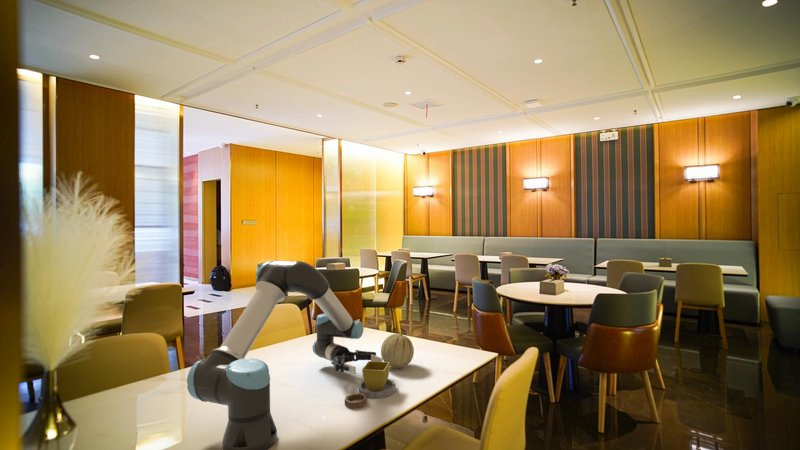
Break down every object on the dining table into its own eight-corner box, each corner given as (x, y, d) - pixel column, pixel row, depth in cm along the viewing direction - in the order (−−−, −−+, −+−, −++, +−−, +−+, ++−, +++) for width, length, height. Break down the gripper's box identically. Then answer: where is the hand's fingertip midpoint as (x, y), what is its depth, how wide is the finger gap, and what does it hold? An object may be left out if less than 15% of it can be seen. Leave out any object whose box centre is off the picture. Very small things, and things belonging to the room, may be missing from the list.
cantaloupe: (377, 372, 170) (376, 337, 170) (386, 360, 185) (385, 328, 185) (410, 374, 167) (409, 338, 167) (417, 362, 181) (416, 329, 181)
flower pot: (384, 394, 146) (384, 370, 146) (362, 393, 148) (361, 369, 148) (390, 385, 155) (389, 362, 155) (369, 383, 157) (368, 361, 157)
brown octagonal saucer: (353, 410, 135) (353, 404, 135) (340, 404, 141) (340, 398, 141) (371, 403, 141) (370, 397, 141) (357, 397, 146) (357, 391, 146)
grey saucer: (375, 402, 142) (374, 396, 142) (351, 391, 152) (351, 385, 152) (402, 389, 151) (402, 384, 151) (378, 380, 162) (378, 375, 162)
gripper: (360, 355, 180) (392, 366, 164) (312, 370, 162) (343, 384, 147) (360, 339, 179) (391, 348, 164) (312, 352, 162) (342, 364, 147)
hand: (368, 365), depth 155 cm, fingers open, 13 cm apart
